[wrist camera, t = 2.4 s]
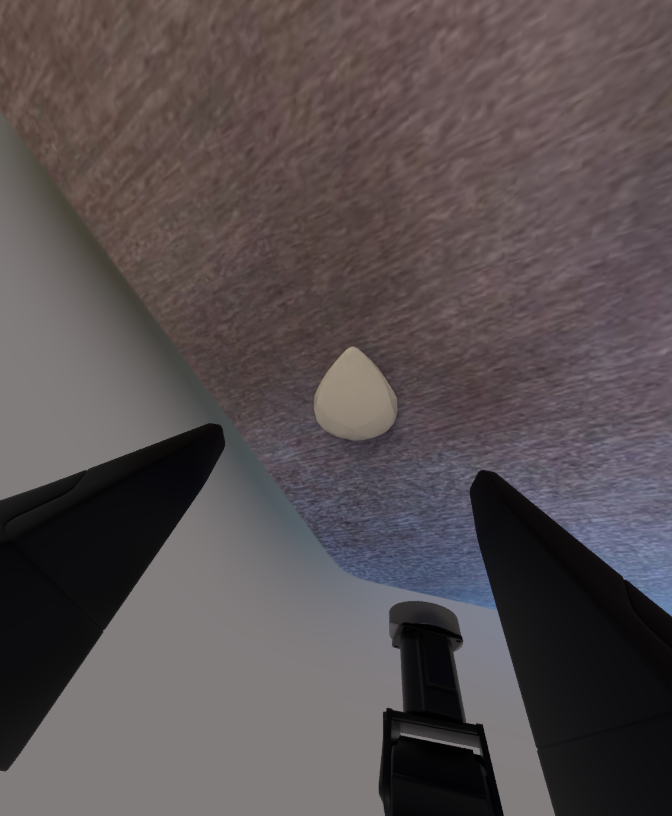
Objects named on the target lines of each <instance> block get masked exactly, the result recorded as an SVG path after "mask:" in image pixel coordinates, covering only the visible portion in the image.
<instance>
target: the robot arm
mask: <svg viewBox="0 0 672 816" xmlns="http://www.w3.org/2000/svg"><path fill="white" fill-rule="evenodd" d="M224 447H225V439H224V435H223V429H222V427H221V425H218V424H212V423H209V424H206V425H203V426H200V427H198V428H195V429H192V430H190V431H187V432H185V433H182V434H179V435H177V436H174V437H171V438H169V439H166V440H163V441H161V442H159V443H156V444H153V445H151V446H148V447H145V448H143V449H140V450H137V451H135V452H132V453H129V454H127V455H124V456H122V457H119V458H116V459H114V460H111V461H108V462H106V463H103V464H100V465H98V466H95V467H92V468H90V469H88V470H87V471H86V470H84V471H82V472H79V473H76V474H74V475H71V476H69V477H66V478H63V479H60V480H58V481H55V482H52V483H50V484H47V485H44V486H41V487H38V488H36V489H33V490H30V491H27V492H24V493H21V494H18V495H15V496H12V497H9V498H6V499H3V500H0V771H7V770H8V769H9V767H10V766H11V765H12V764H13V762H14V761H15V760H16V758H17V757H18V756H19V754H20V753H21V751H22V750H23V748H24V747H25V745H26V744H27V743H28V741H29V740H30V738H31V737H32V735H33V734H34V732H35V731H36V729H37V728H38V726H39V725H40V724H41V722H42V721H43V719H44V718H45V716H46V715H47V713H48V712H49V711H50V709H51V708H52V706H53V705H54V703H55V702H56V700H57V699H58V697H59V696H60V695H61V693H62V692H63V690H64V689H65V687H66V686H67V684H68V683H69V681H70V680H71V679H72V677H73V676H74V674H75V673H76V671H77V670H78V668H79V667H80V665H81V664H82V663H83V661H84V660H85V658H86V657H87V655H88V654H89V652H90V651H91V649H92V648H93V647H94V645H95V644H96V642H97V641H98V639H99V638H100V636H101V635H102V633H103V630H104V629H106V627H107V626H108V624H109V623H110V621H111V620H112V618H113V617H114V616H115V614H116V613H117V611H118V610H119V608H120V607H121V605H122V604H123V603H124V601H125V600H126V598H127V597H128V595H129V594H130V592H131V591H132V589H133V588H134V586H135V585H136V584H137V582H138V581H139V579H140V578H141V576H142V575H143V573H144V572H145V571H146V569H147V568H148V566H149V564H150V563H151V562H152V560H153V559H154V557H155V556H156V555H157V553H158V552H159V550H160V549H161V547H162V546H163V544H164V543H165V541H166V540H167V538H168V537H169V536H170V534H171V533H172V531H173V530H174V528H175V527H176V525H177V524H178V522H179V521H180V520H181V518H182V517H183V515H184V513H185V512H186V511H187V509H188V508H189V506H190V505H191V503H192V502H193V501H194V499H195V498H196V496H197V495H198V493H199V492H200V490H201V489H202V487H203V486H204V484H205V482H206V481H207V479H208V477H209V475H210V474H211V472H212V470H213V468H214V466H215V464H216V462H217V461H218V459H219V457H220V455H221V453H222V451H223V450H224ZM470 498H471V504H472V510H473V516H474V522H475V528H476V533H477V538H478V543H479V546H480V550H481V554H482V557H483V561H484V564H485V568H486V571H487V575H488V578H489V582H490V585H491V589H492V592H493V596H494V600H495V603H496V607H497V610H498V613H499V617H500V621H501V624H502V628H503V631H504V635H505V638H506V642H507V646H508V649H509V652H510V656H511V660H512V663H513V667H514V670H515V673H516V677H517V681H518V684H519V688H520V691H521V695H522V699H523V702H524V705H525V709H526V713H527V716H528V720H529V723H530V727H531V730H532V734H533V737H534V741H535V745H536V747H537V749H538V750H537V753H538V756H539V759H540V763H541V767H542V770H543V774H544V777H545V781H546V784H547V788H548V791H549V795H550V799H551V802H552V806H553V809H554V813H555V816H672V616H670V615H669V614H668V613H667V612H665V611H664V610H663V609H662V608H660V607H659V606H658V605H657V604H655V603H654V602H653V601H652V600H650V599H649V598H648V597H647V596H645V595H644V594H643V593H642V592H641V591H639V590H638V589H637V588H636V587H635V586H633V585H632V584H631V583H630V582H628V581H627V580H624V579H623V577H622V576H621V575H620V574H619V573H617V572H616V571H615V570H614V569H612V568H611V567H610V566H609V565H608V564H606V563H605V562H604V561H603V560H601V559H600V558H599V557H598V556H597V555H595V554H594V553H593V552H592V551H590V550H589V549H588V548H587V547H586V546H584V545H583V544H582V543H581V542H579V541H578V540H577V539H576V538H575V537H573V536H572V535H571V534H570V533H568V532H567V531H566V530H565V529H564V528H562V527H561V526H560V525H559V524H557V523H556V522H555V521H554V520H553V519H551V518H550V517H549V516H548V515H546V514H545V513H544V512H543V511H542V510H540V509H539V508H538V507H537V506H535V505H534V504H533V503H532V502H531V501H529V500H528V499H527V498H526V497H524V496H523V495H522V494H521V493H520V492H518V491H517V490H516V489H515V488H513V487H512V486H511V485H510V484H509V483H507V482H506V481H505V480H504V479H502V478H501V477H500V476H499V475H498V474H496V473H495V472H491V471H485V470H481V471H479V472H478V474H477V476H476V478H475V480H474V482H473V483H472V485H471V488H470ZM462 643H463V638H462V636H461V635H458V634H454V633H450V632H446V631H441V630H437V629H433V628H429V627H425V626H420V625H416V624H412V623H408V622H403V623H402V624H401V626H400V628H399V630H398V631H397V633H396V635H395V637H394V639H393V640H392V646H393V647H394V648H398V649H400V650H401V651H400V652H401V670H402V671H401V672H402V693H403V712H400V711H394V710H392V709H391V708H387V711H386V712H383V745H382V756H381V766H380V777H379V795H380V797H381V800H382V802H383V804H384V812H385V816H504V815H503V810H502V806H501V801H500V797H499V793H498V788H497V784H496V780H495V776H494V772H493V767H492V763H491V758H490V754H489V750H488V745H487V741H486V737H485V733H484V728H483V725H482V724H476V725H474V724H469V723H466V719H465V713H464V708H463V703H462V697H461V692H460V687H459V681H458V676H457V670H456V664H455V660H454V654H453V652H454V651H455V650H456V649H457V648H458V647H459V646H460V645H461V644H462ZM400 732H401V733H407V734H412V735H417V736H422V737H427V738H432V739H437V740H442V741H447V742H452V743H457V744H462V745H467V746H473V747H477V748H480V753H481V755H477V754H474V753H473V750H471V749H466V748H461V747H456V746H451V745H446V744H441V743H436V742H431V741H426V740H421V739H416V738H411V737H406V736H401V735H400Z"/></svg>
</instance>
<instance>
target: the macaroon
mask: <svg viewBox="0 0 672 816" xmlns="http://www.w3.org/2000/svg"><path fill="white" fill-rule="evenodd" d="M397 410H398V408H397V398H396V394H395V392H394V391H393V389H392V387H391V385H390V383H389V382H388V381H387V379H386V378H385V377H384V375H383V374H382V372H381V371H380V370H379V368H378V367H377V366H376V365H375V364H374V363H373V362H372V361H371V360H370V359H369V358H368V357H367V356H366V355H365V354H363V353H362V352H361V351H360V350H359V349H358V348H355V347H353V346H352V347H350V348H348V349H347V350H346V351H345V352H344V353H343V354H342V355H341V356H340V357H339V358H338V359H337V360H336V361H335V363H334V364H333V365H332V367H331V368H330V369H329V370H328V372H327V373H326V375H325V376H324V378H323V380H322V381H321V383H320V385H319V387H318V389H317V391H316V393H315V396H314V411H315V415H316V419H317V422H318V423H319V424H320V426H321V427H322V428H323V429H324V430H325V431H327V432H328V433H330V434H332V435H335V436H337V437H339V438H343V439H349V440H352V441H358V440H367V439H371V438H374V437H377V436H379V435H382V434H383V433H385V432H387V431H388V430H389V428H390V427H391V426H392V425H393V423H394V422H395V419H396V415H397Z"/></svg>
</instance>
